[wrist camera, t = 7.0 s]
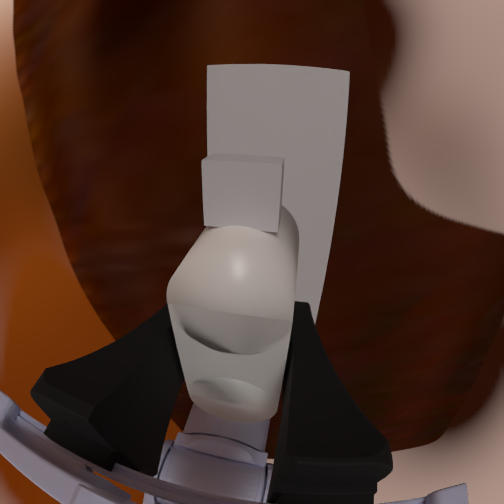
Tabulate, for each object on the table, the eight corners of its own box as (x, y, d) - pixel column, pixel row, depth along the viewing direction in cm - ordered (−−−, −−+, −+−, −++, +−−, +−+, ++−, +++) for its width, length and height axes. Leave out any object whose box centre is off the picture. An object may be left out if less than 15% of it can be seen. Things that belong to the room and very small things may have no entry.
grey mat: (311, 336, 24) (311, 341, 23) (218, 324, 25) (216, 328, 24) (348, 72, 14) (349, 71, 13) (210, 66, 15) (207, 65, 14)
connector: (284, 354, 15) (273, 427, 11) (218, 345, 16) (194, 413, 12) (308, 149, 10) (309, 186, 6) (208, 143, 10) (149, 177, 6)
